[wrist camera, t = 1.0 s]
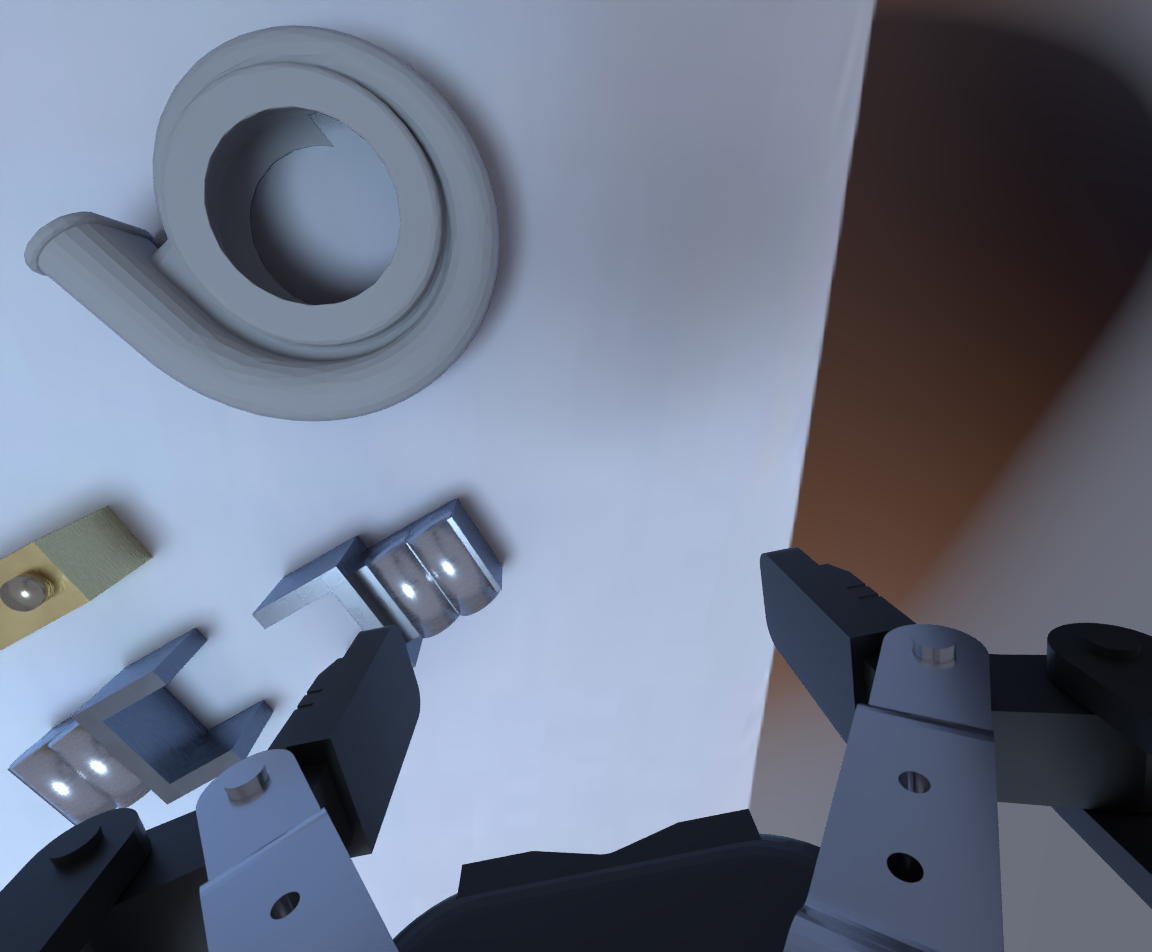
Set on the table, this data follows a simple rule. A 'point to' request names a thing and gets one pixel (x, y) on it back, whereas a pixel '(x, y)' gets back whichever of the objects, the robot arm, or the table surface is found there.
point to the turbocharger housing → (232, 264)
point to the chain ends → (195, 756)
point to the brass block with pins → (64, 572)
